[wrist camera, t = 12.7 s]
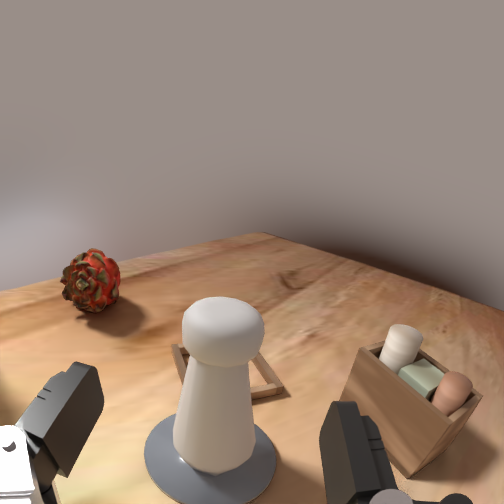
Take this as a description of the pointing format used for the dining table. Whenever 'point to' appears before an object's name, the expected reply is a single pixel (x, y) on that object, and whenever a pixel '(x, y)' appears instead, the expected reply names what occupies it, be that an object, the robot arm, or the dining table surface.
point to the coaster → (202, 484)
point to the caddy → (409, 398)
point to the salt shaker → (217, 385)
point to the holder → (272, 381)
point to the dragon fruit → (91, 281)
